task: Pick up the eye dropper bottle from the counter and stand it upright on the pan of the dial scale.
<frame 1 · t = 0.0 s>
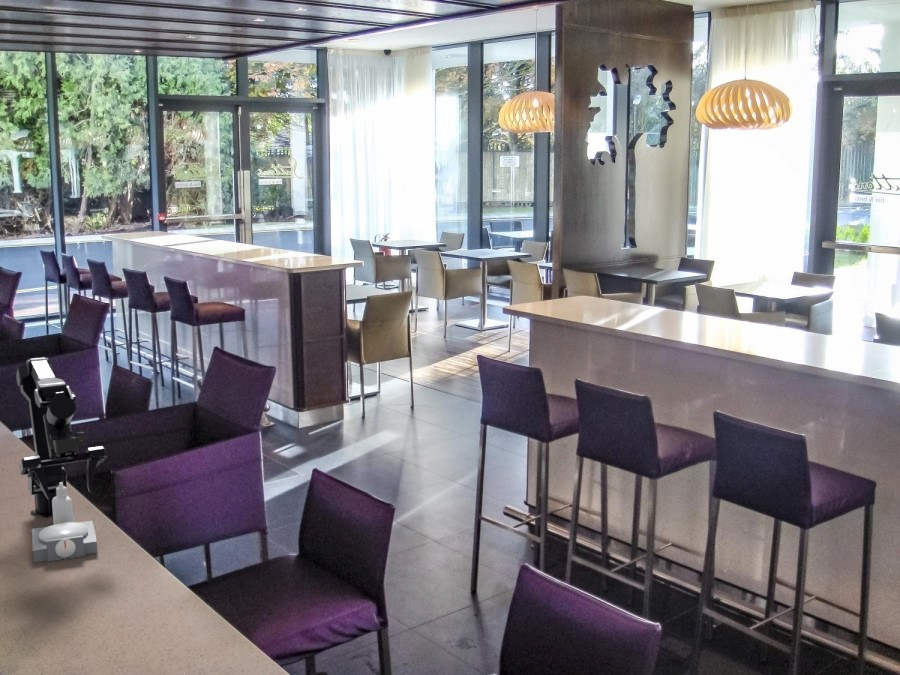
hand: (69, 495, 220), 15 cm above the table, tool tilted 35°, fingers open, 9 cm apart
eye dropper bottle: (63, 528, 238), on the table
dial scale: (64, 546, 227), on the table
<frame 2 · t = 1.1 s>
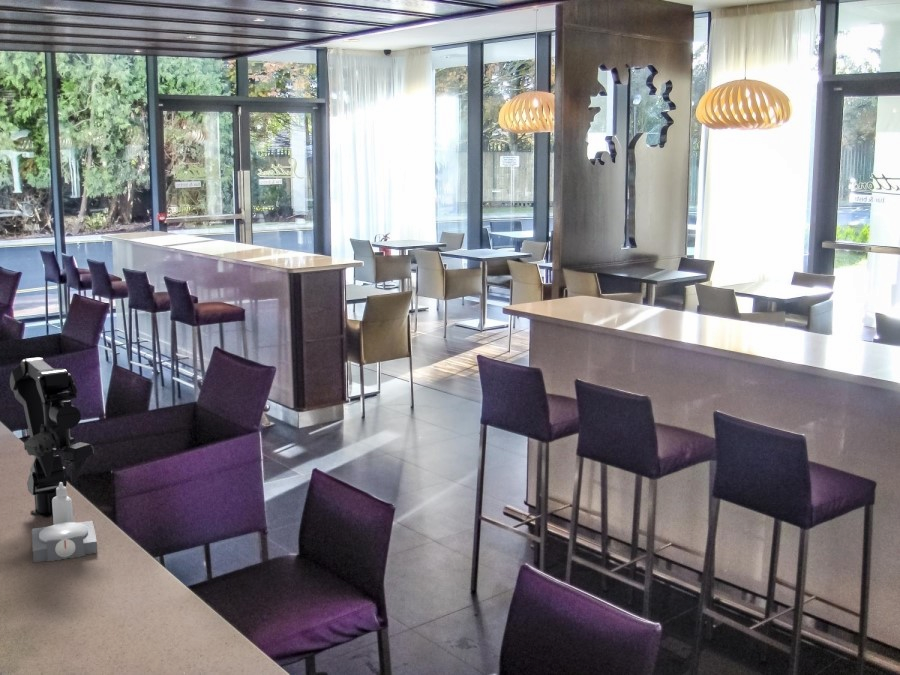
hand: (60, 479, 235), 13 cm above the table, tool pointing down, fingers open, 9 cm apart
nothing on the table moved.
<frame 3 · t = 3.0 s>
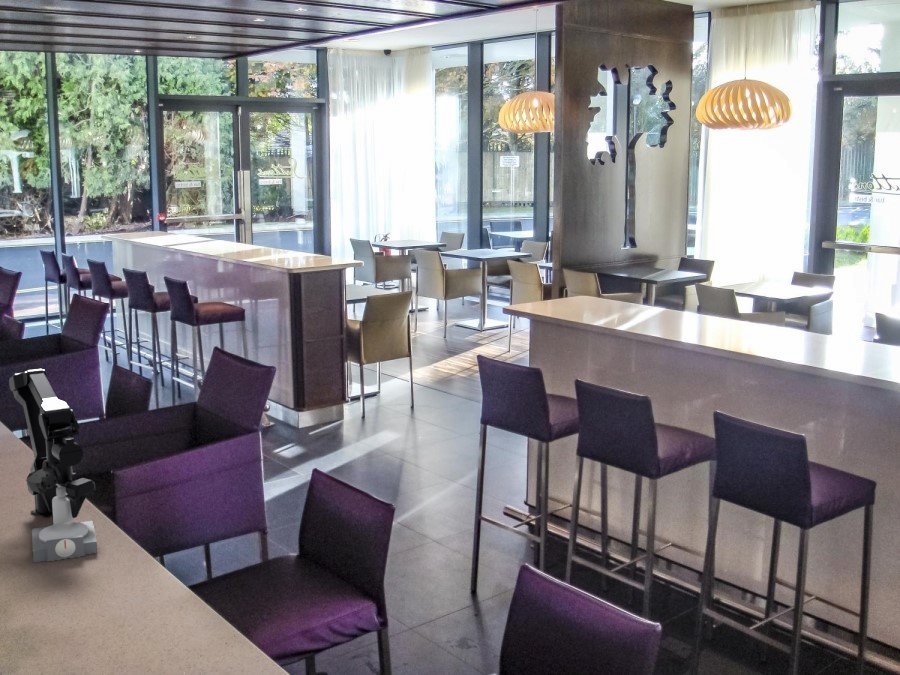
hand: (62, 514, 238), 4 cm above the table, tool pointing down, fingers closed on eye dropper bottle, 8 cm apart
eye dropper bottle: (63, 528, 238), on the table, touching gripper
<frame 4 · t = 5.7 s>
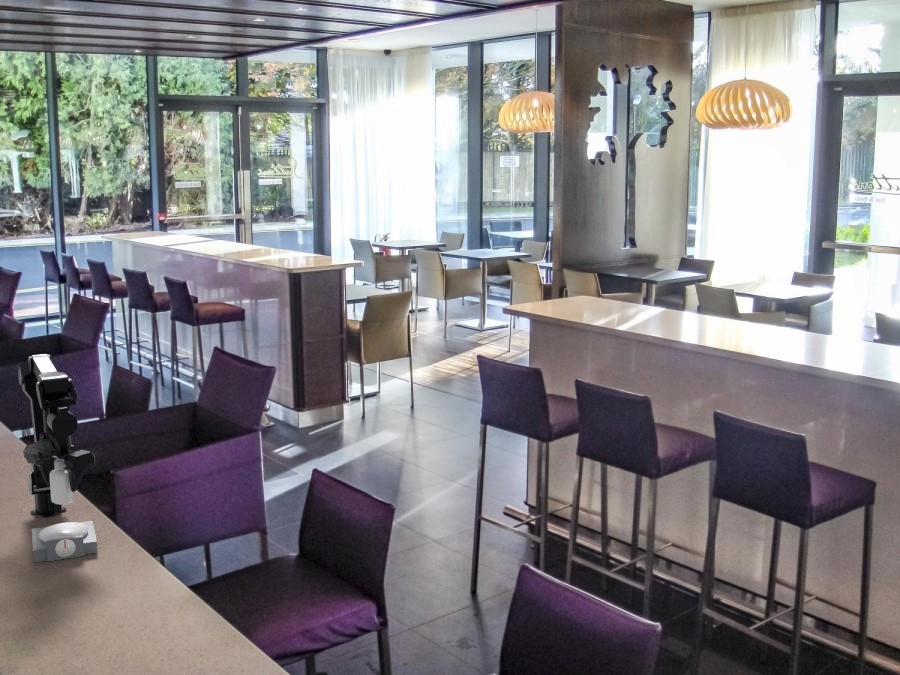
hand: (61, 488, 228), 13 cm above the table, tool pointing down, fingers closed on eye dropper bottle, 8 cm apart
eye dropper bottle: (62, 503, 229), point 10 cm above the table, touching gripper
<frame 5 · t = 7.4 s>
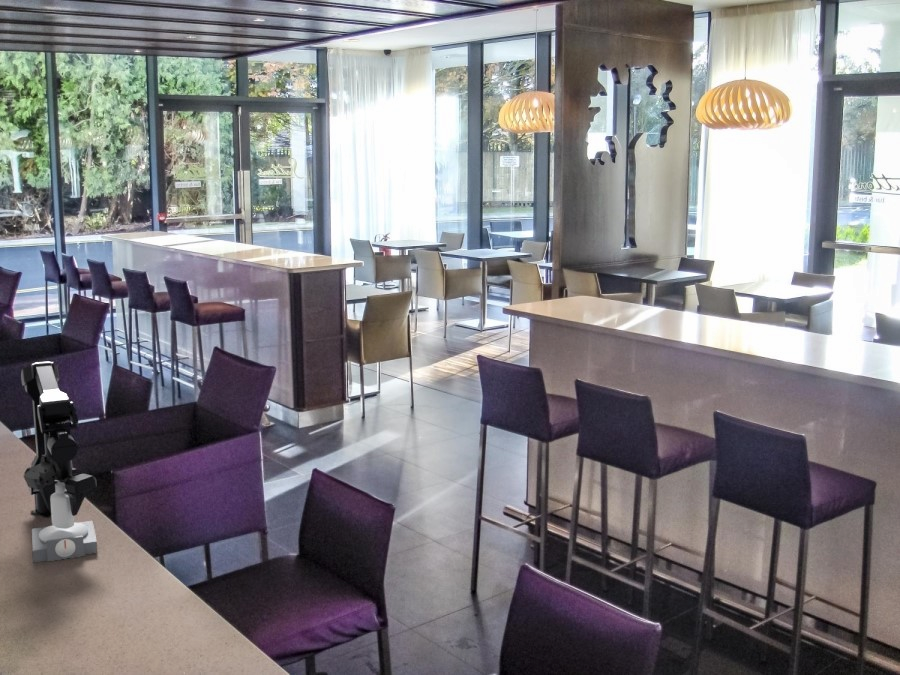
hand: (62, 511, 225), 9 cm above the table, tool pointing down, fingers closed on eye dropper bottle, 8 cm apart
eye dropper bottle: (63, 526, 226), point 5 cm above the table, touching gripper
when the fingers open (9 cm above the table, at t = 8.7 s): eye dropper bottle drops 1 cm, resting on dial scale.
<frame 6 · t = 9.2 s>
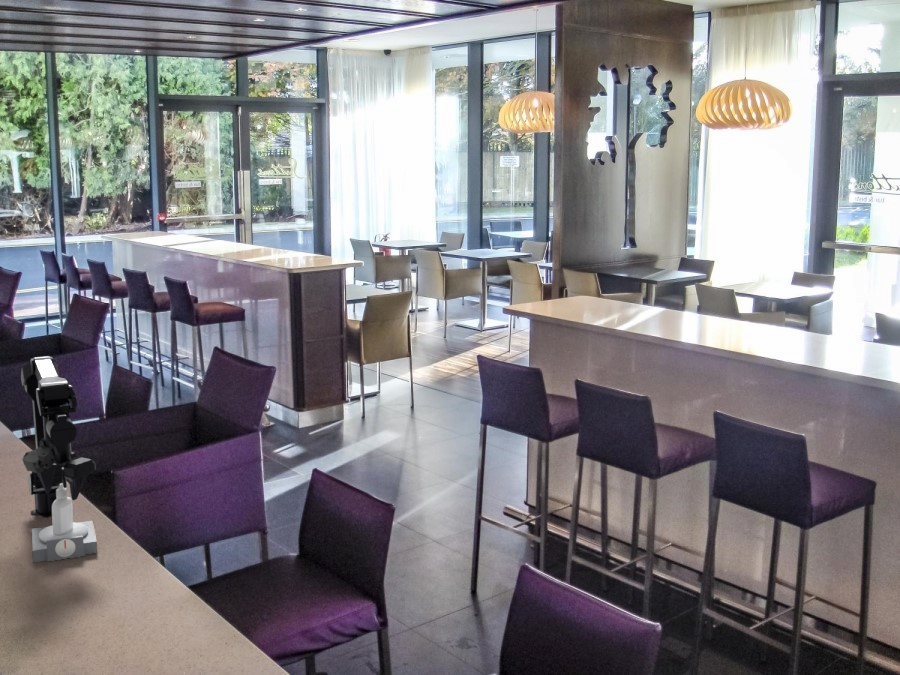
hand: (61, 496, 224), 13 cm above the table, tool pointing down, fingers open, 9 cm apart
eye dropper bottle: (63, 532, 226), point 4 cm above the table, touching dial scale
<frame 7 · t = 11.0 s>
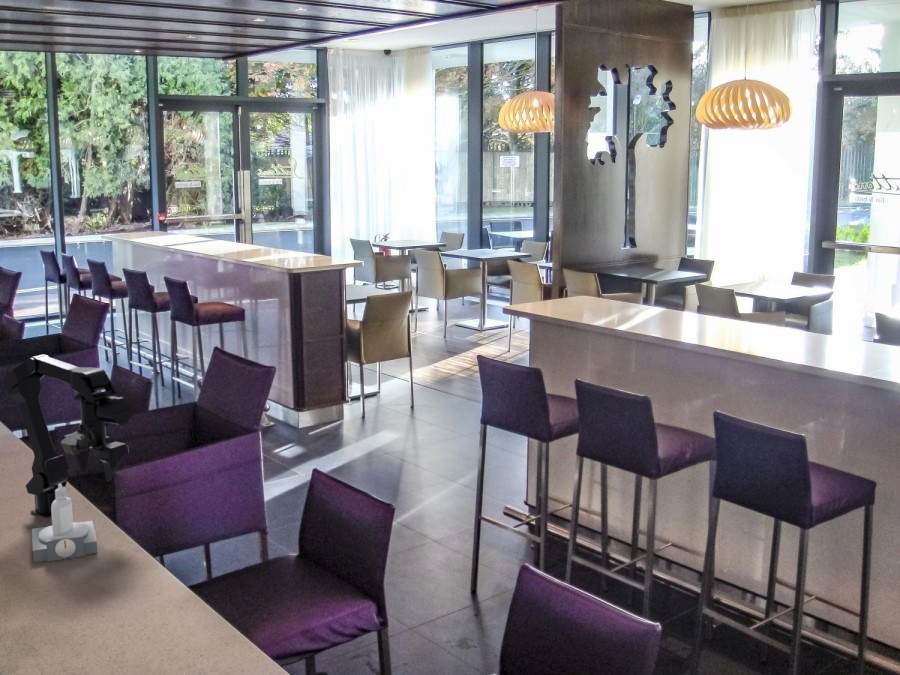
hand: (95, 477, 238), 13 cm above the table, tool pointing down, fingers open, 9 cm apart
nothing on the table moved.
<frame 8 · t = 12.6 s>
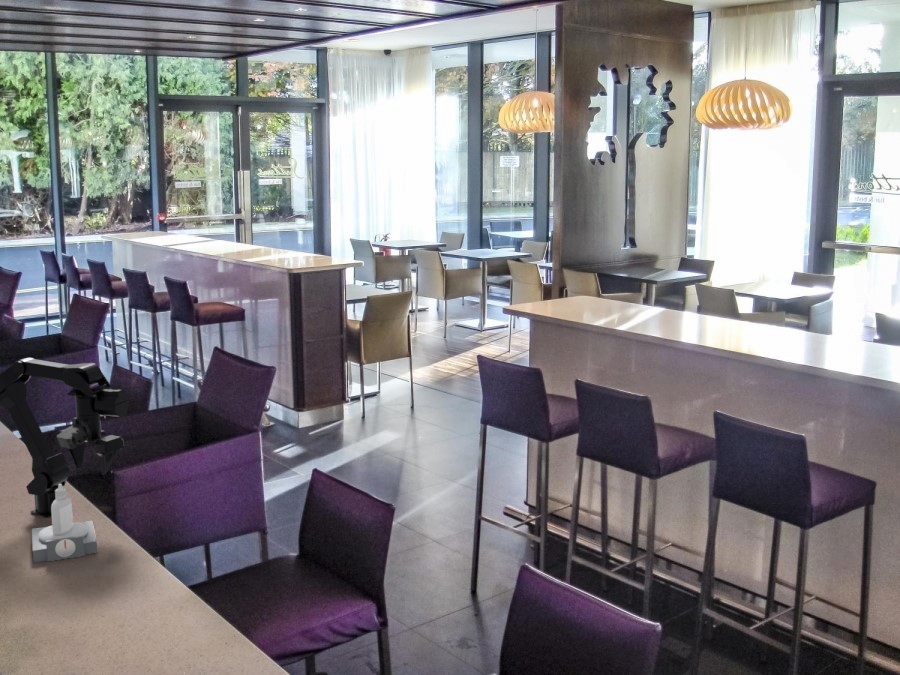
hand: (91, 471, 242), 13 cm above the table, tool pointing down, fingers open, 9 cm apart
nothing on the table moved.
at the end: eye dropper bottle inside the target area on the dial scale (0.2 cm from its centre), point 3.8 cm above the dial scale's base; eye dropper bottle tilted 0°; the gripper is holding nothing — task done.
